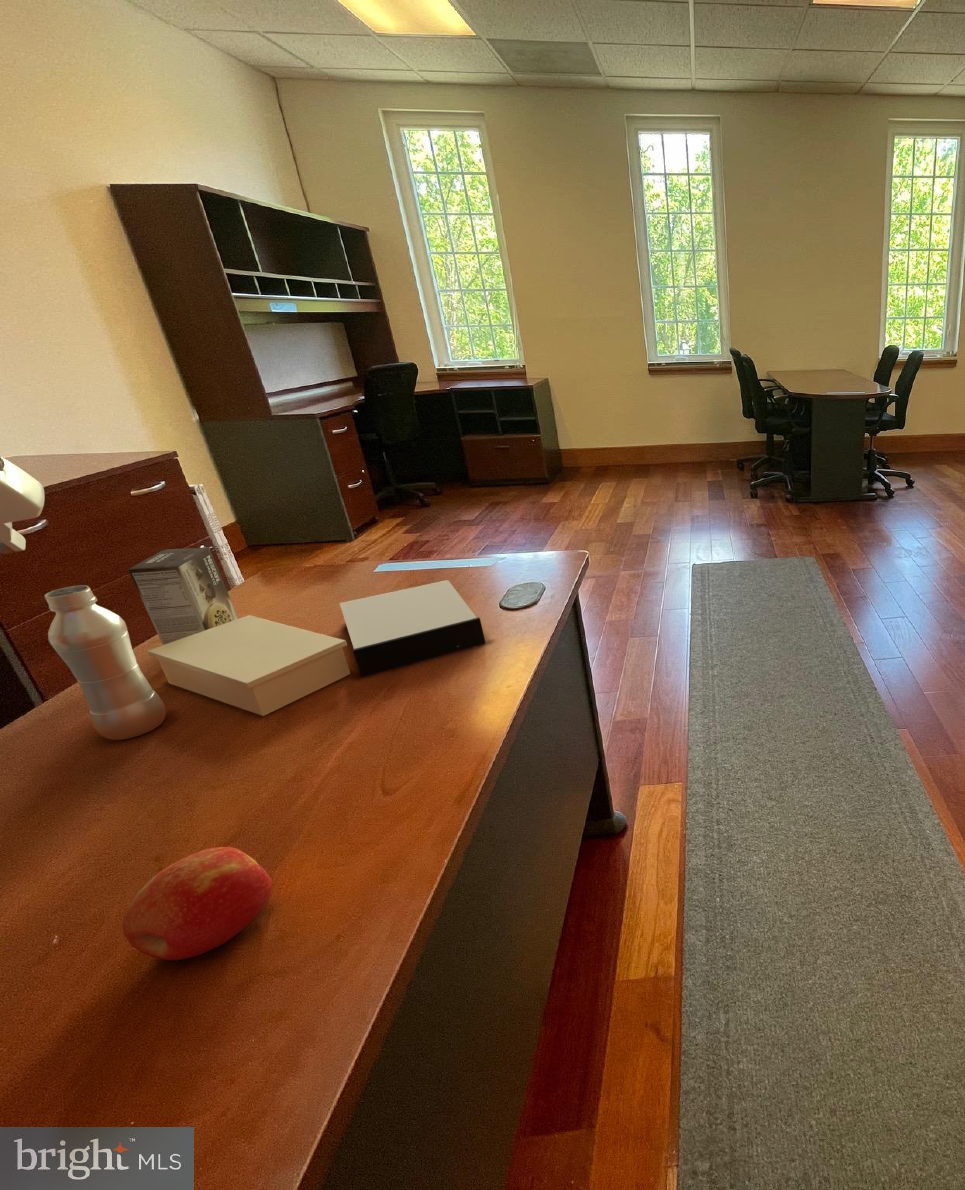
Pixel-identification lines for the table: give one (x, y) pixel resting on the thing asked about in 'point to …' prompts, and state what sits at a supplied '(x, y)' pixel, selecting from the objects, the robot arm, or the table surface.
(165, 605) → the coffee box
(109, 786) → the table surface
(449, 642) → the disc drive
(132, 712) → the plastic bottle
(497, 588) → the table surface
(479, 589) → the table surface
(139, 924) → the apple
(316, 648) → the flat beige lidded box
